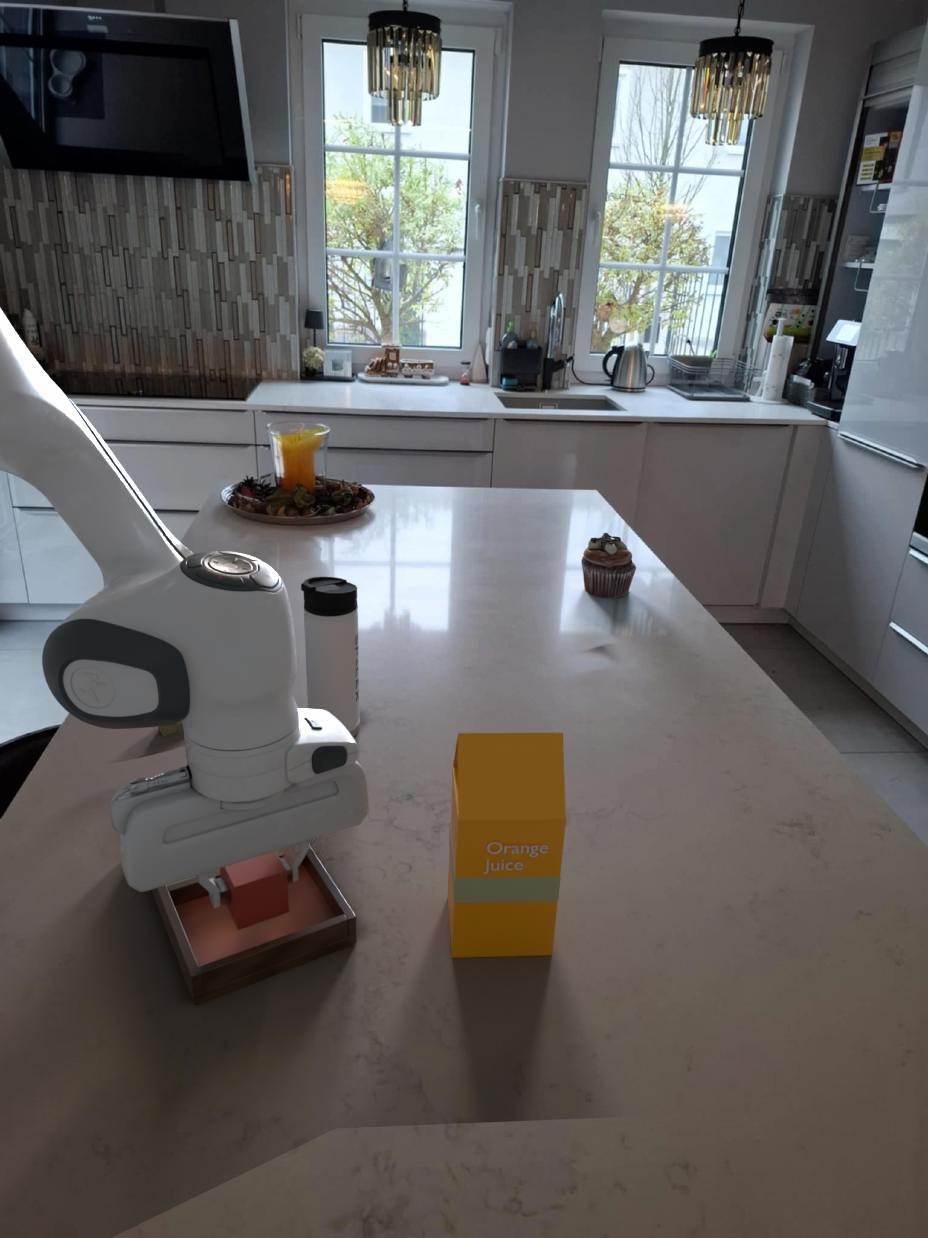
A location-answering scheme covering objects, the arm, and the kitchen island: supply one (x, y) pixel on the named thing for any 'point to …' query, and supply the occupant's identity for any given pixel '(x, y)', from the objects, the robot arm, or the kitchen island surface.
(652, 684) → the kitchen island surface
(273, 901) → the red block
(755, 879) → the kitchen island surface
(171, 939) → the sorting tray
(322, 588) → the travel mug
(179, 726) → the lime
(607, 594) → the cupcake
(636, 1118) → the kitchen island surface
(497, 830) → the orange juice
